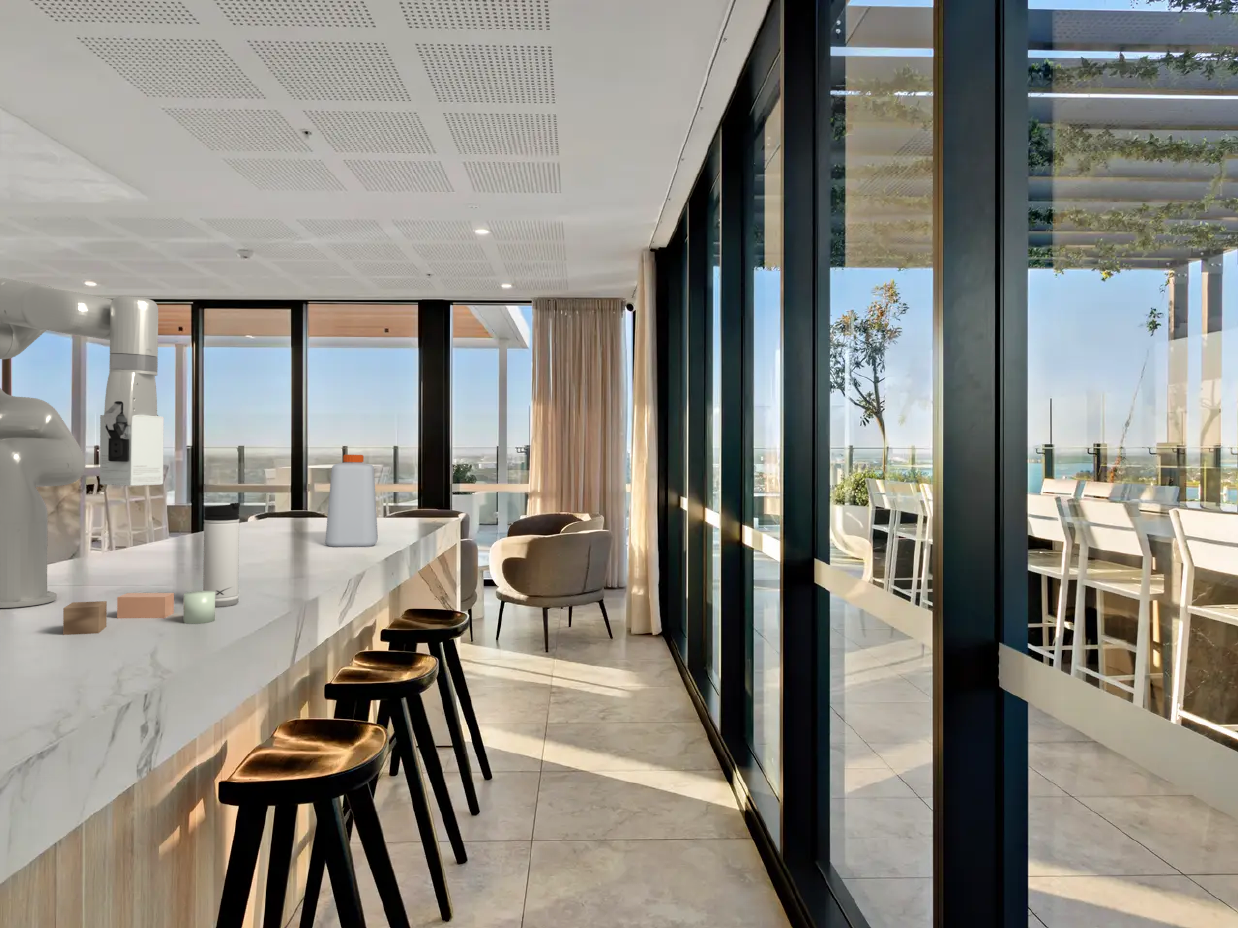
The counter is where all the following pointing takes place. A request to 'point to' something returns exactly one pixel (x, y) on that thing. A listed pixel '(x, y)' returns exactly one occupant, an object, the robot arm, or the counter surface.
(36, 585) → the robot arm
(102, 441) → the supplement box
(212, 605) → the sage plastic cylinder
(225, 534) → the travel mug
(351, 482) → the plastic bottle
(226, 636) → the counter surface
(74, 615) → the walnut block
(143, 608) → the terracotta brick
